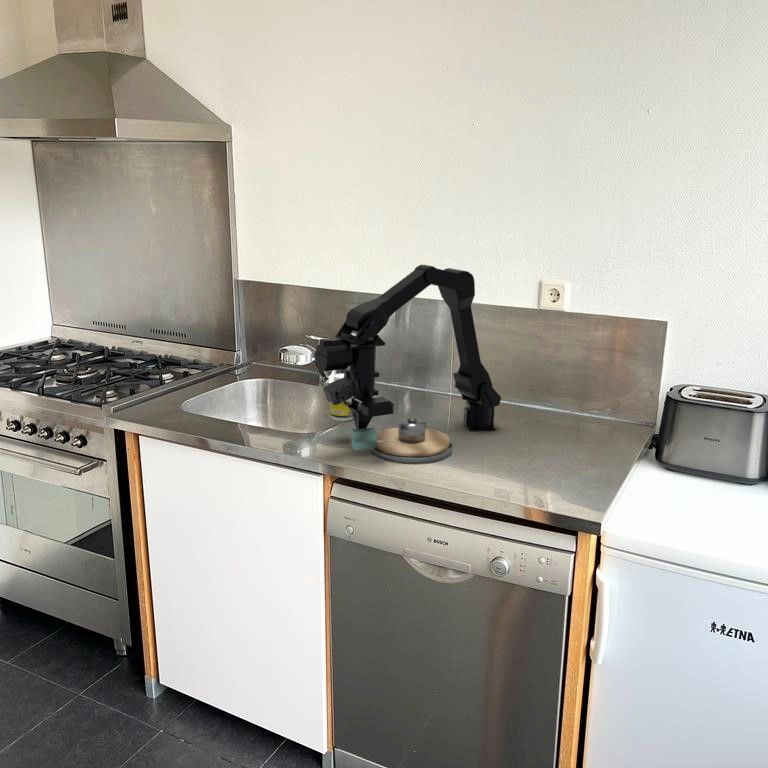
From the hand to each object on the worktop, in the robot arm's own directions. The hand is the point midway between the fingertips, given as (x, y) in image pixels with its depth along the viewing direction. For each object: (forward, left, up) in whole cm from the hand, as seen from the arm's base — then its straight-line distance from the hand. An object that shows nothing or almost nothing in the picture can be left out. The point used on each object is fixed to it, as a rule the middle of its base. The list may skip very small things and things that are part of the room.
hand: (360, 434), depth 169 cm
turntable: (-9, +2, -2) cm, 9 cm away
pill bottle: (+1, -24, -4) cm, 24 cm away
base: (-11, +1, -4) cm, 12 cm away
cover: (-11, +1, -1) cm, 12 cm away
